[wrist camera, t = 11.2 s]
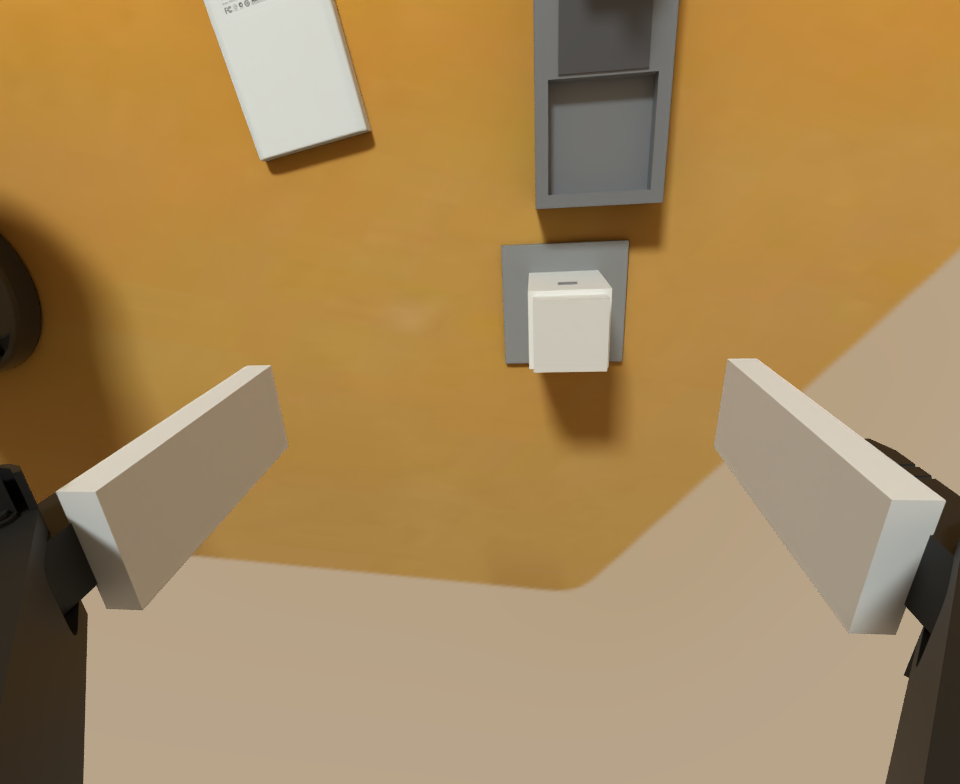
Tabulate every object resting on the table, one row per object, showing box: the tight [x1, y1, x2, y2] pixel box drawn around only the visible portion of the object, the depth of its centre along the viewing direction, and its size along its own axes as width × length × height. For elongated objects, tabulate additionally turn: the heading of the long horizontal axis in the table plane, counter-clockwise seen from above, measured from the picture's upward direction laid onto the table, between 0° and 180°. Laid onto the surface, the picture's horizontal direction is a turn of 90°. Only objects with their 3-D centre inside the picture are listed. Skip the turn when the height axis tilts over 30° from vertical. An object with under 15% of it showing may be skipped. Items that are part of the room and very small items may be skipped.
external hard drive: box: [204, 0, 371, 161], centre depth 33 cm, size 2×8×12 cm
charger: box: [528, 270, 612, 373], centre depth 33 cm, size 5×5×8 cm
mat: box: [501, 240, 629, 364], centre depth 37 cm, size 9×9×1 cm
